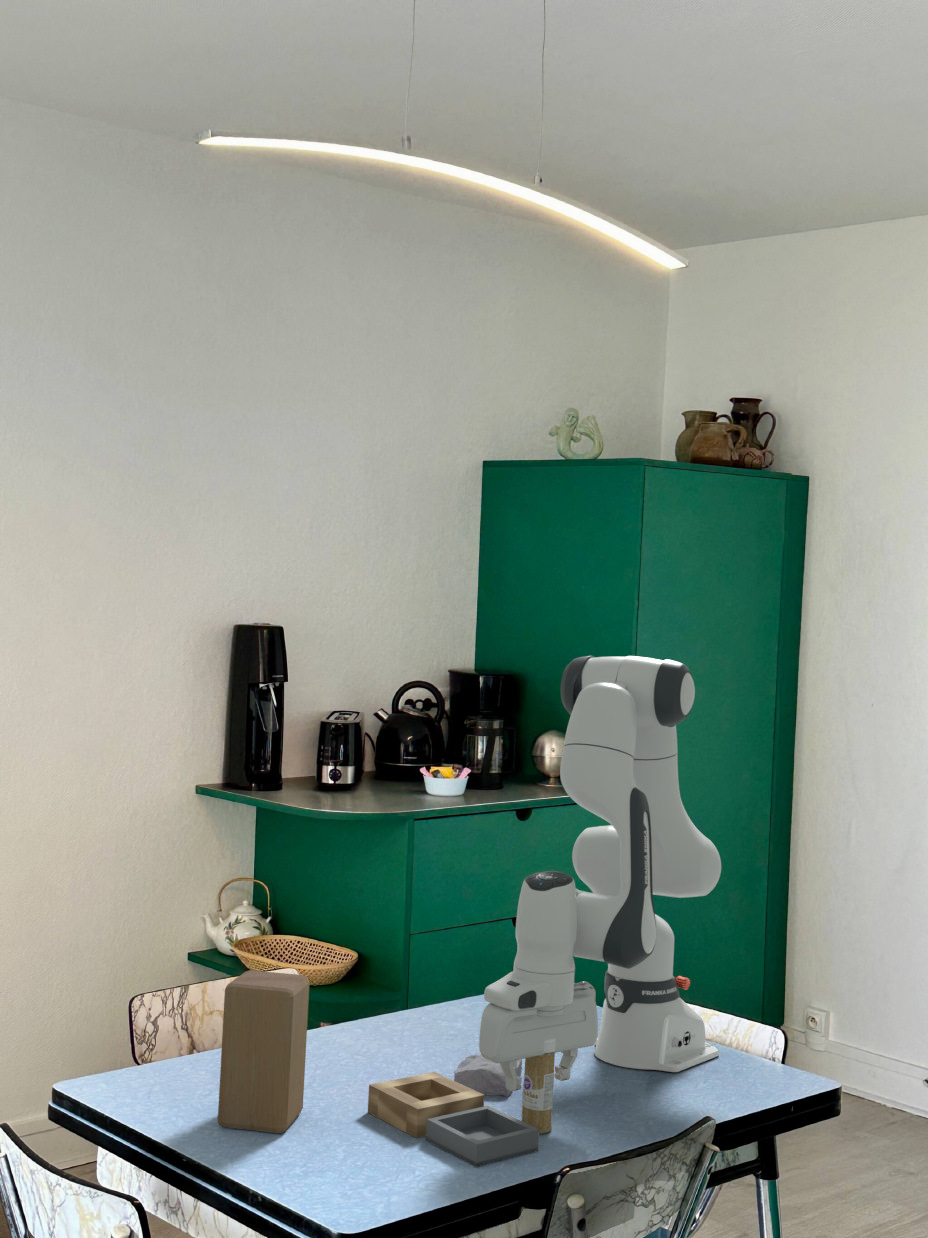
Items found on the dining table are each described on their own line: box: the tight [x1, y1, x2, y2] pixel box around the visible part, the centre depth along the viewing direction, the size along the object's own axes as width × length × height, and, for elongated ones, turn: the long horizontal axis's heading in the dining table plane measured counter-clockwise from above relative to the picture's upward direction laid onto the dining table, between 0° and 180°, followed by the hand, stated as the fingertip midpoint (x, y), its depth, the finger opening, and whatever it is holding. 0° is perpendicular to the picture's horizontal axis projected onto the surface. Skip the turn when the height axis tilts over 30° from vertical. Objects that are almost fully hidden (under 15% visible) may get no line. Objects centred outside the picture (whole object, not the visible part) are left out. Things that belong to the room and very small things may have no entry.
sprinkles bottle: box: [521, 1039, 556, 1135], centre depth 194 cm, size 5×5×13 cm
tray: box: [425, 1105, 540, 1168], centre depth 186 cm, size 11×11×3 cm
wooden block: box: [217, 969, 310, 1134], centre depth 192 cm, size 10×10×20 cm
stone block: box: [453, 1053, 523, 1097], centre depth 213 cm, size 12×5×10 cm
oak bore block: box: [367, 1071, 485, 1139], centre depth 196 cm, size 12×12×4 cm
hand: (538, 1084), depth 193 cm, fingers open, 8 cm apart
